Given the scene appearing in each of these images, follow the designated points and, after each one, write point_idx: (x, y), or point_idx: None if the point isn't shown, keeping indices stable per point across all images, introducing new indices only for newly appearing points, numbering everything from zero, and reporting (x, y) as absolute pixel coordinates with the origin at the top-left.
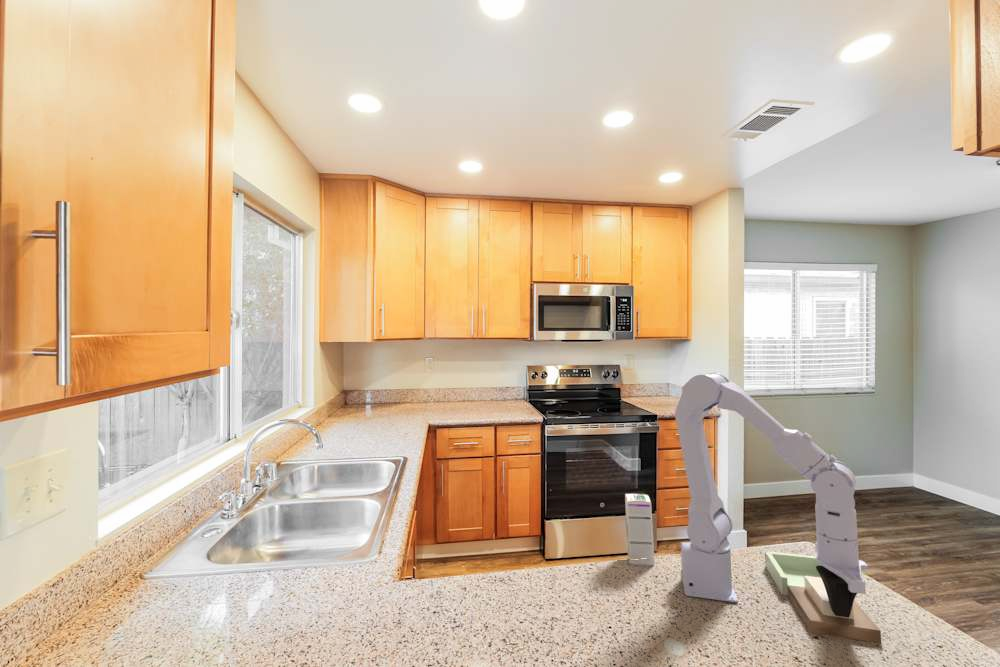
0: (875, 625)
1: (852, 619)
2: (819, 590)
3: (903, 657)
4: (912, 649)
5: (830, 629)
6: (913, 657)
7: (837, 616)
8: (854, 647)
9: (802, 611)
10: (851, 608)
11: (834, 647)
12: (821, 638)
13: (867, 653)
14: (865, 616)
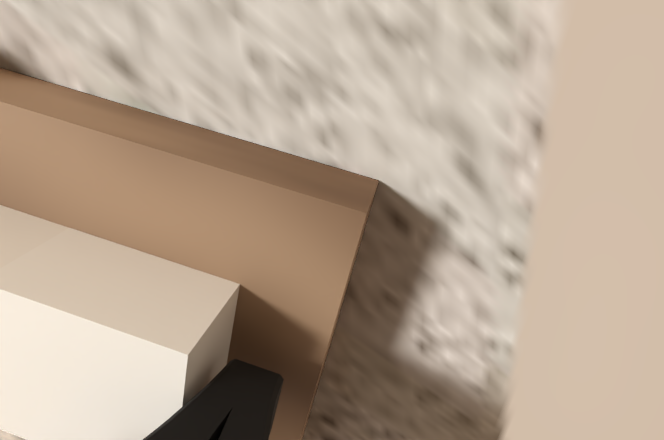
0: (300, 196)
1: (243, 294)
2: (34, 423)
3: (530, 157)
4: (451, 10)
5: (310, 408)
6: (540, 85)
7: (225, 358)
8: (417, 351)
9: None
10: (268, 428)
11: (414, 432)
12: (344, 433)
13: (471, 329)
14: (188, 178)
